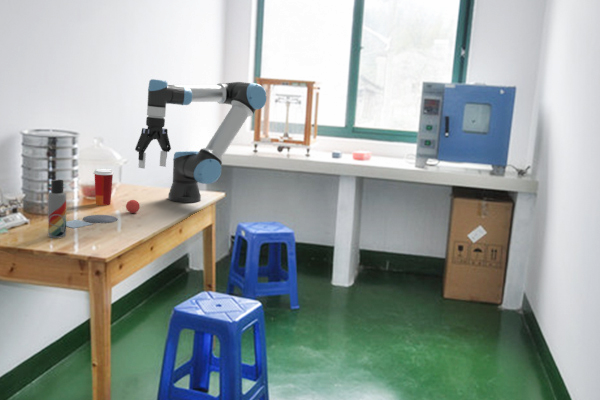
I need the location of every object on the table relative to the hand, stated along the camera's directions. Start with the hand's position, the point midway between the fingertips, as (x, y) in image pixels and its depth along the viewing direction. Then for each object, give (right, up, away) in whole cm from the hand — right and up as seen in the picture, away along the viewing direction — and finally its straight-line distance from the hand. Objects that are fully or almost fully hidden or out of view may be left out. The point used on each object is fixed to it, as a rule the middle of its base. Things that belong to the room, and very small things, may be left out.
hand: (152, 167), depth 255 cm
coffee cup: (-23, -16, +7) cm, 29 cm away
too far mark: (-22, -23, -29) cm, 43 cm away
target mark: (-16, -21, -19) cm, 33 cm away
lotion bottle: (-22, -27, -46) cm, 58 cm away
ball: (-7, -17, -5) cm, 19 cm away
